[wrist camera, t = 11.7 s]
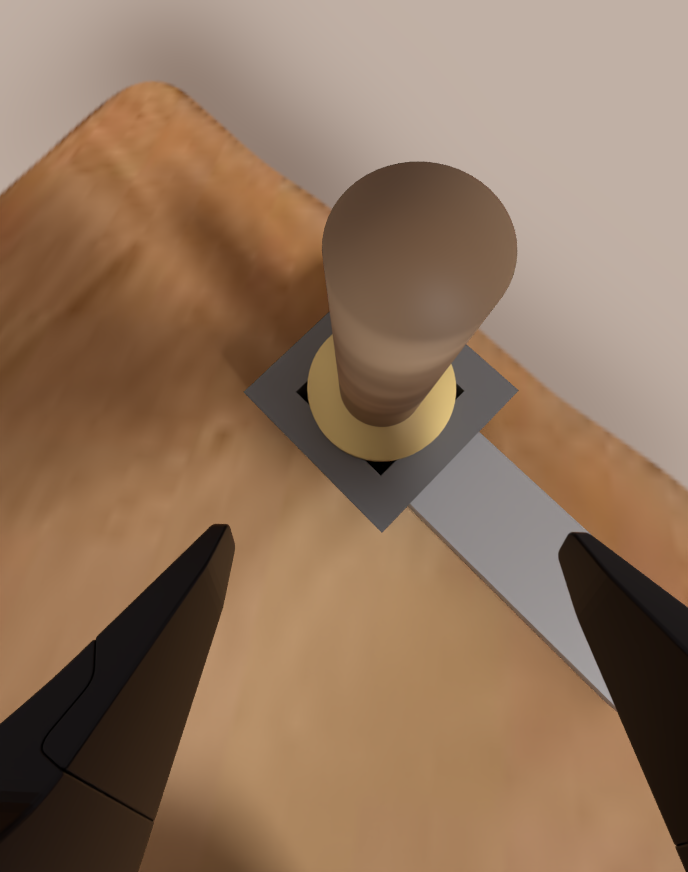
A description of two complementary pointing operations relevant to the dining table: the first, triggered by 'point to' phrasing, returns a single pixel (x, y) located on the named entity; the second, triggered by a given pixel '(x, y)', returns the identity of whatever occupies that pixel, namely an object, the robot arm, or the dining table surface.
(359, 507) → the hitch block
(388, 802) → the dining table surface
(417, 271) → the walnut pin
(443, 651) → the dining table surface
